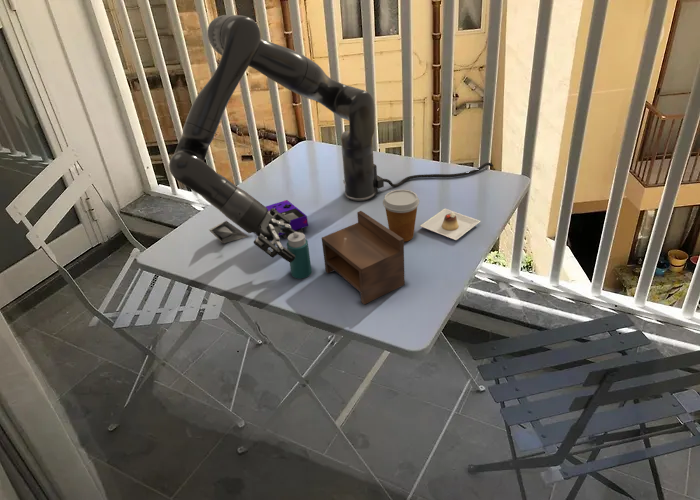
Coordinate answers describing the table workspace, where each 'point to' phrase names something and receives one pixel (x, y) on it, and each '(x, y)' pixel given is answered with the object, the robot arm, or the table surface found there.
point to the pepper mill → (299, 255)
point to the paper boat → (227, 232)
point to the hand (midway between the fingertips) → (296, 249)
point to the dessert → (450, 224)
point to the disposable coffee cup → (401, 212)
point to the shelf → (366, 257)
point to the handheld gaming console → (290, 215)
